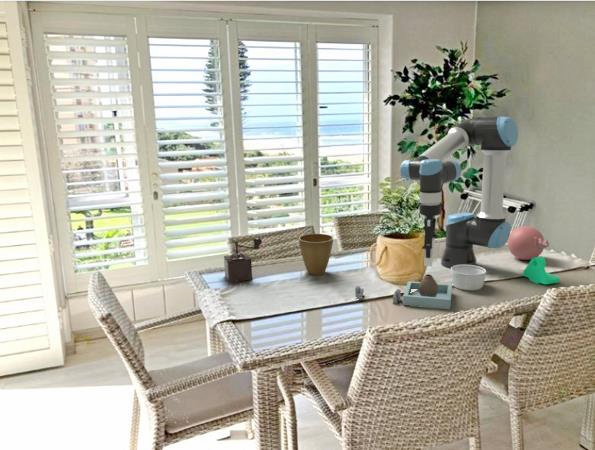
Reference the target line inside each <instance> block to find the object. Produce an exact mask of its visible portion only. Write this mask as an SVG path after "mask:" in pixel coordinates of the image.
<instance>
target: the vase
mask: <svg viewBox="0 0 595 450" xmlns="http://www.w3.org/2000/svg"><path fill="white" fill-rule="evenodd" d="M434 278H435V277H433V275H432V274H431V273H430V274H427V273H426V274H425V275H424V277H423V278H422V279H421V281H419V282H420V284H419V293H420V295H421V296H426V297H436V295H437V293H438V285H437V283H438V282H437V281H436V279H434Z"/></svg>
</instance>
